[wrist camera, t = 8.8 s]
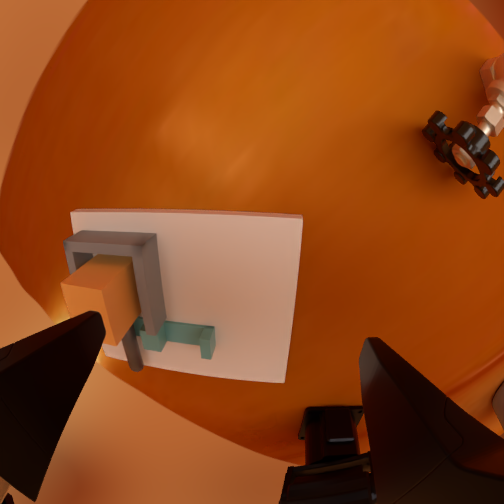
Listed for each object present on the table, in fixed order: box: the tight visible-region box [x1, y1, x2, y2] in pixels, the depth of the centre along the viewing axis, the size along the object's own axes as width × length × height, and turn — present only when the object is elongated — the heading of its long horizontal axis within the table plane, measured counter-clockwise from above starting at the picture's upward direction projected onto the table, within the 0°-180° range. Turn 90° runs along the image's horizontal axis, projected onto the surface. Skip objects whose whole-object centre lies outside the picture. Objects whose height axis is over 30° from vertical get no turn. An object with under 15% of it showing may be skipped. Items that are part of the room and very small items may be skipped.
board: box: [70, 209, 303, 383], centre depth 22 cm, size 15×18×1 cm
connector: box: [60, 254, 144, 372], centre depth 20 cm, size 11×4×6 cm, turn 178°
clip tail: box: [133, 316, 152, 350], centre depth 22 cm, size 2×5×2 cm, turn 89°
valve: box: [422, 53, 504, 199], centre depth 11 cm, size 7×7×12 cm
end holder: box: [63, 230, 167, 336], centre depth 20 cm, size 7×7×2 cm
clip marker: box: [149, 320, 216, 360], centre depth 22 cm, size 2×5×2 cm, turn 89°
